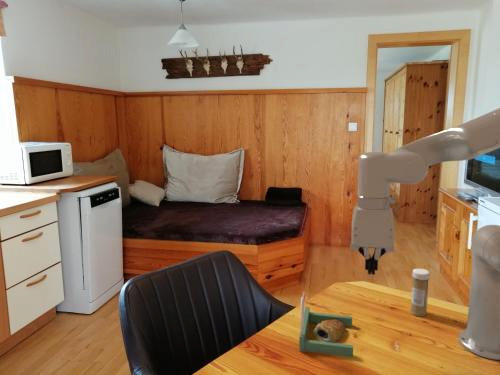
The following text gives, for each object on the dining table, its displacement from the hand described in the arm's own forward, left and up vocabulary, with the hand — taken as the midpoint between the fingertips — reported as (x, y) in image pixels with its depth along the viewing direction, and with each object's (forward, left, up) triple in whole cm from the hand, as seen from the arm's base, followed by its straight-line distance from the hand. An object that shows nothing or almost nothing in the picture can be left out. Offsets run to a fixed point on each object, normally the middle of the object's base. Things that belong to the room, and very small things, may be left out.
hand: (371, 272), depth 99 cm
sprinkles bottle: (-15, -18, -19) cm, 31 cm away
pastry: (+10, -1, -20) cm, 22 cm away
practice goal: (+10, +1, -19) cm, 22 cm away
